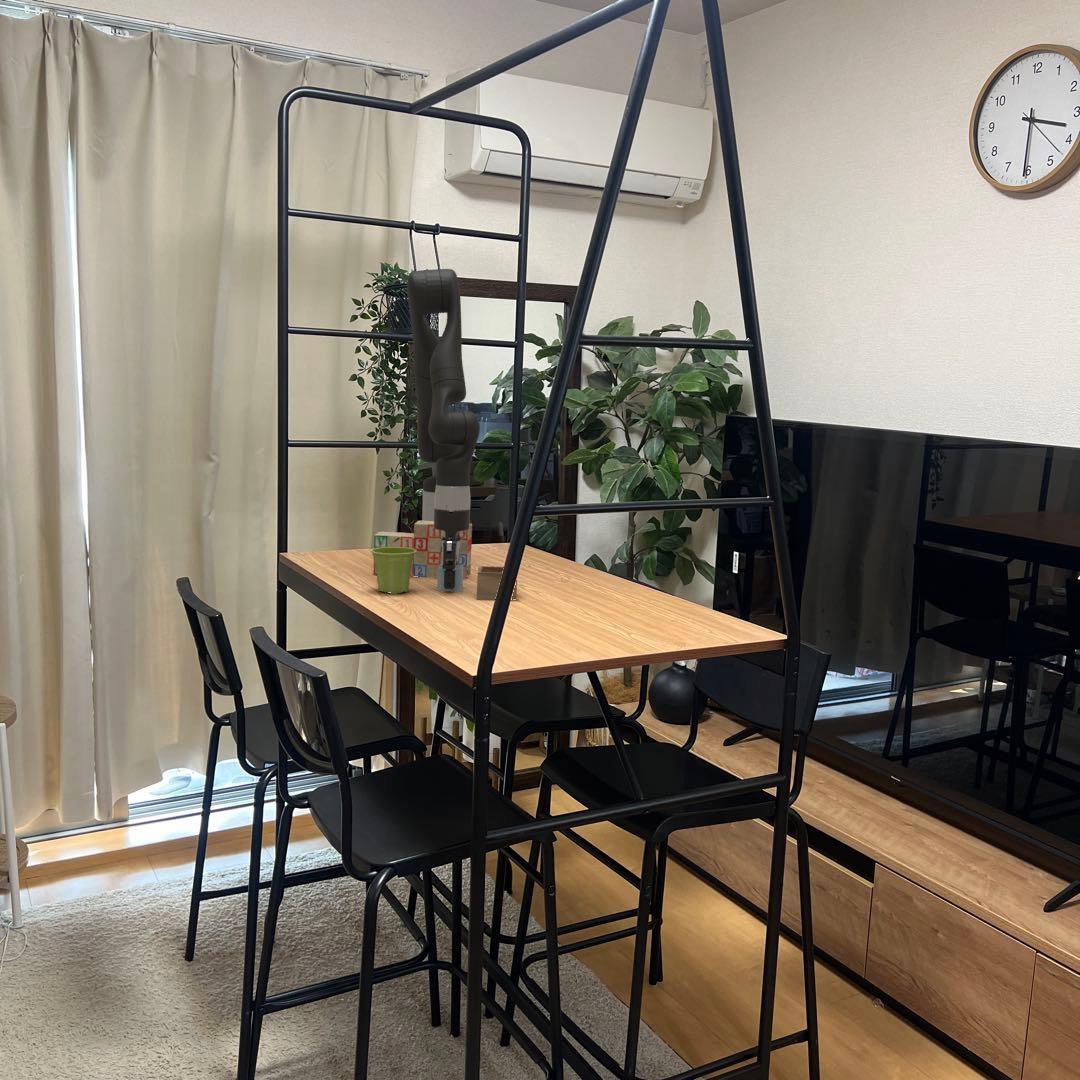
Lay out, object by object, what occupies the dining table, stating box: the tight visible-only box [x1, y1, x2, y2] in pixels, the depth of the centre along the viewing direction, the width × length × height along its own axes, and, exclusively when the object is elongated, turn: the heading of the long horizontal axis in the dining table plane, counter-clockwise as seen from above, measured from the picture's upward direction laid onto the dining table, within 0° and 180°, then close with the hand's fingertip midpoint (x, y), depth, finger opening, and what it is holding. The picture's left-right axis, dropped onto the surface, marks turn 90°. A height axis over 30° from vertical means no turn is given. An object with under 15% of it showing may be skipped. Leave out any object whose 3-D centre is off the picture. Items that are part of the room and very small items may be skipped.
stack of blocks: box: [373, 520, 473, 580], centre depth 237 cm, size 21×6×12 cm, turn 85°
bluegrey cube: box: [437, 564, 464, 593], centre depth 222 cm, size 5×5×5 cm
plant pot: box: [370, 547, 417, 594], centre depth 217 cm, size 9×9×9 cm
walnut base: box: [476, 565, 518, 601], centre depth 216 cm, size 8×8×6 cm
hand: (450, 585), depth 222 cm, fingers open, 6 cm apart
